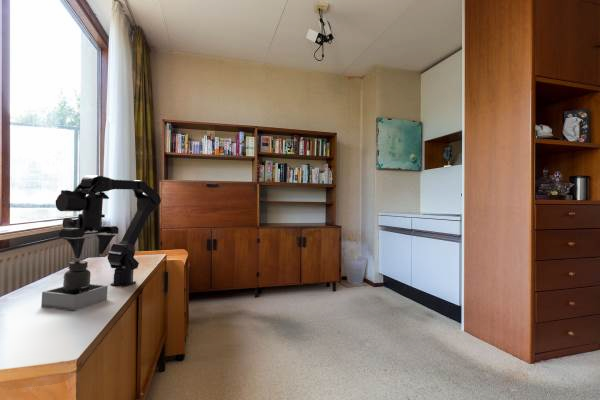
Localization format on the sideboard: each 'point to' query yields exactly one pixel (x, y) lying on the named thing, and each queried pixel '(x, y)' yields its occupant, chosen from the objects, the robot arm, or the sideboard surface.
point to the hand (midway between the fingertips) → (89, 256)
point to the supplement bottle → (76, 278)
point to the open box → (73, 298)
